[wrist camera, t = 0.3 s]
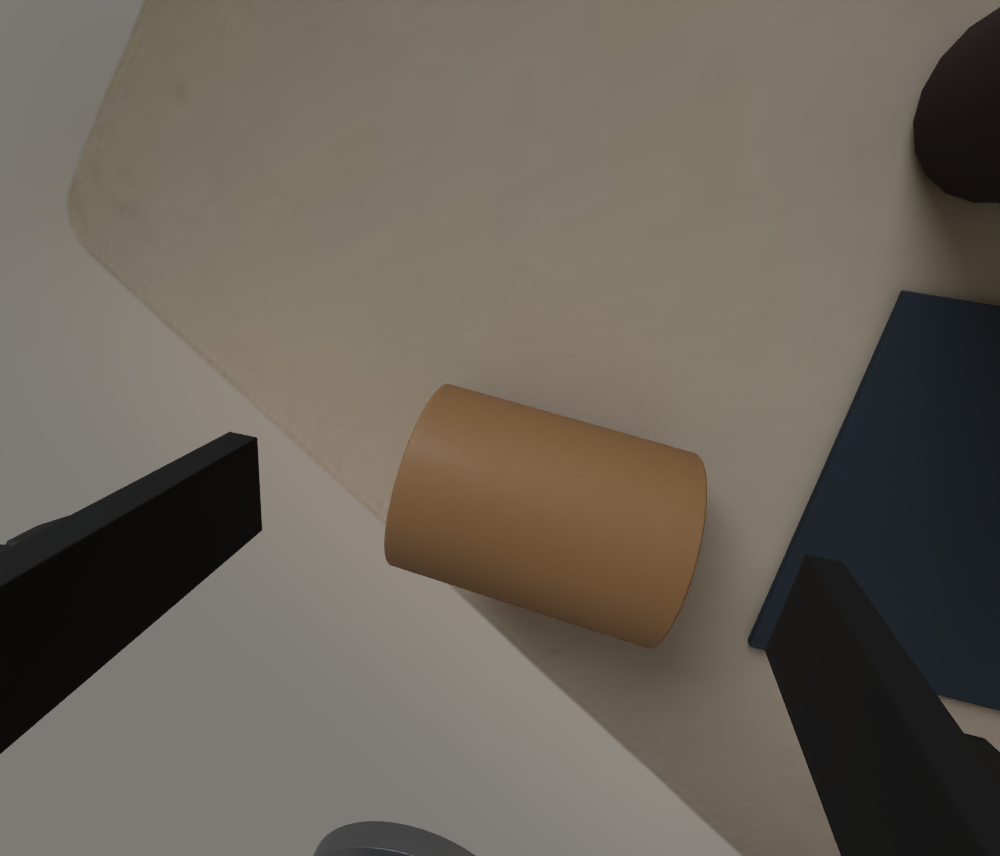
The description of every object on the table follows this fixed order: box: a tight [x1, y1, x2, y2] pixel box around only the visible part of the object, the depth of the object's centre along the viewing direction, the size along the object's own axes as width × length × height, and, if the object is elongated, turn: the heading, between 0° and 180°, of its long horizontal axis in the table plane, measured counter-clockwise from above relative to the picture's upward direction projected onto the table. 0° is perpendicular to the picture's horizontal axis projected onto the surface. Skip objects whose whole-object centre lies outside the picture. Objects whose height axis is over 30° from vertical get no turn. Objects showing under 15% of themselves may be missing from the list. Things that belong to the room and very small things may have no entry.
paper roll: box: [384, 384, 707, 648], centre depth 24 cm, size 12×9×9 cm
